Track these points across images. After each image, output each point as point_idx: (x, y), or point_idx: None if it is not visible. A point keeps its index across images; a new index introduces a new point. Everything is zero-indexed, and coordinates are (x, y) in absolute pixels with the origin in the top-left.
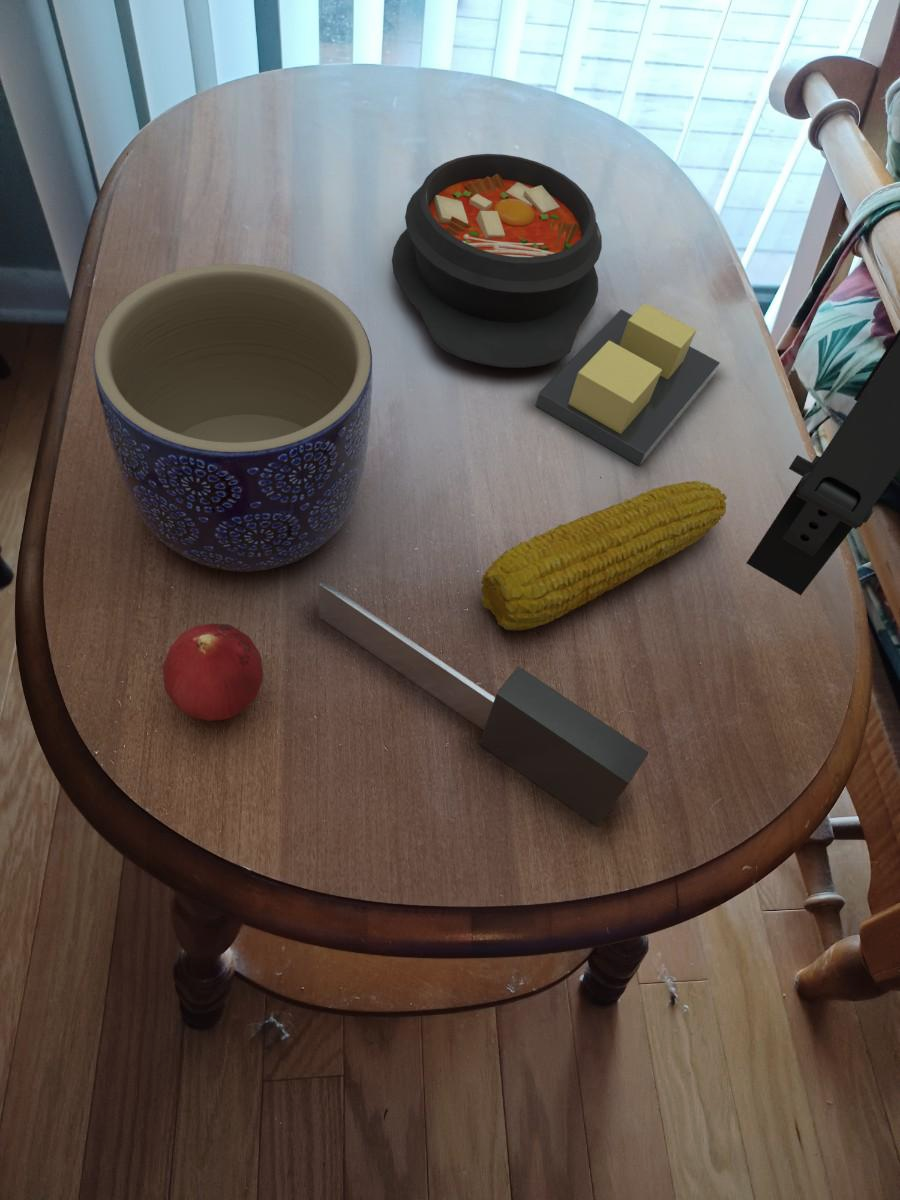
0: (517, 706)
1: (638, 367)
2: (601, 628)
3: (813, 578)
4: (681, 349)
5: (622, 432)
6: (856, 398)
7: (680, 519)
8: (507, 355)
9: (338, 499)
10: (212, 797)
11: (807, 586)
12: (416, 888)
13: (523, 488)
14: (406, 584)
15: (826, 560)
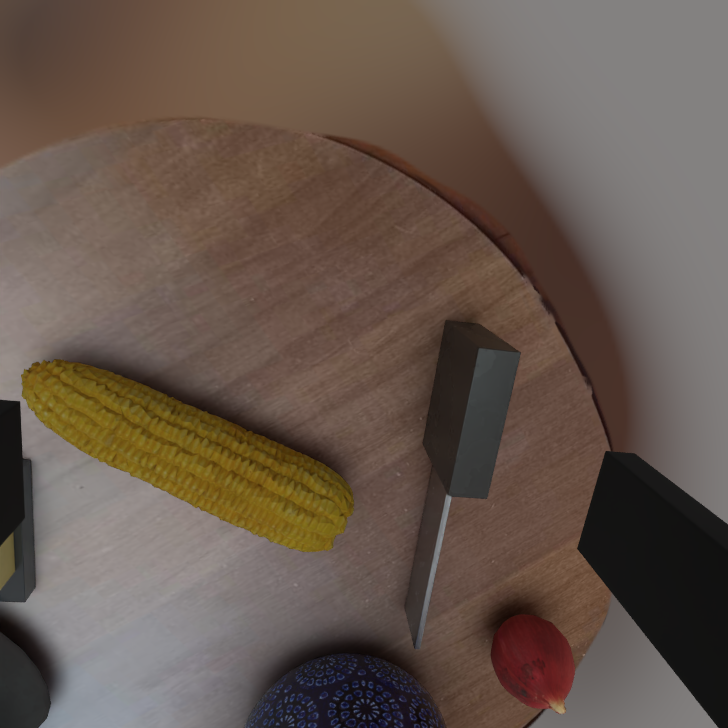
0: (491, 477)
1: None
2: (274, 405)
3: (670, 481)
4: None
5: None
6: (22, 518)
7: (122, 416)
8: (3, 657)
9: (367, 713)
10: (583, 580)
11: (652, 467)
12: (590, 429)
13: (157, 544)
14: (337, 571)
15: (716, 517)
